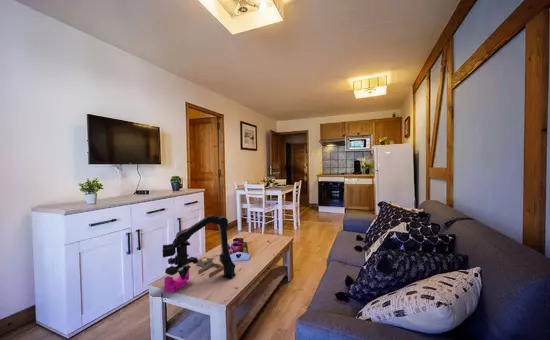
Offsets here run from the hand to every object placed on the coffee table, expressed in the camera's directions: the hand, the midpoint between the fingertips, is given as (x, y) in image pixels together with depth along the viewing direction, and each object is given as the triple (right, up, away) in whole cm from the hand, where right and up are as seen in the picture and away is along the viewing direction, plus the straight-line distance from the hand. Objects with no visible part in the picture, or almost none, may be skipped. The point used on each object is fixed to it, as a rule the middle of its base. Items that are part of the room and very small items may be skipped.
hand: (183, 279), depth 132 cm
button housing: (+3, -4, +32) cm, 32 cm away
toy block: (-4, -6, +3) cm, 7 cm away
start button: (+3, -4, +32) cm, 32 cm away
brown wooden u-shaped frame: (+11, -4, +20) cm, 24 cm away
